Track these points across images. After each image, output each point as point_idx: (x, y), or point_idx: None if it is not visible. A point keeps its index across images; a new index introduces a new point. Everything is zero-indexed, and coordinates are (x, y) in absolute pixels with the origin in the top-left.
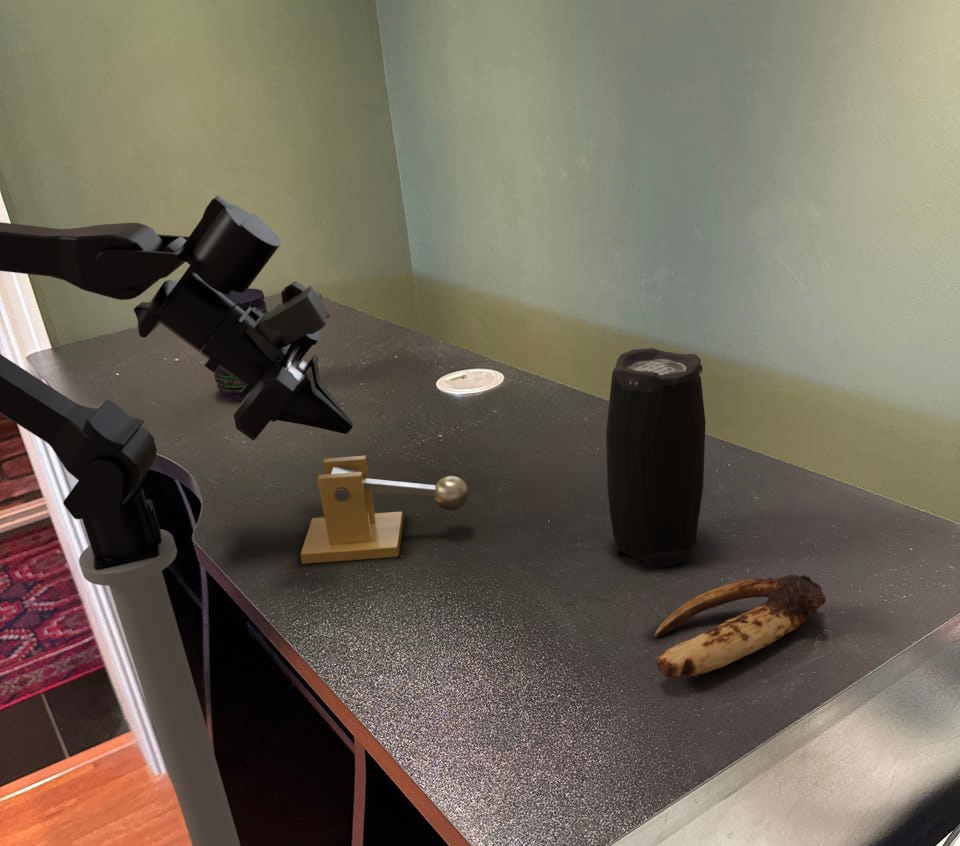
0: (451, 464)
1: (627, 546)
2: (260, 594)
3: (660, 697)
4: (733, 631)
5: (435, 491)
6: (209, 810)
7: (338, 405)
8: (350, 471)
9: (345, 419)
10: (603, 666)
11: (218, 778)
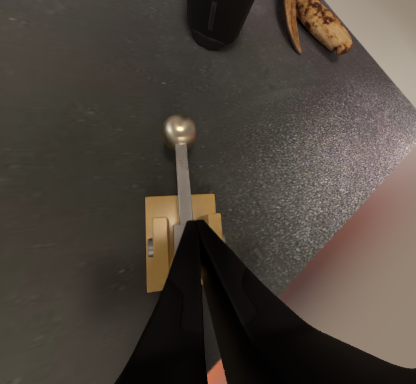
0: (8, 158)
1: (236, 34)
2: None
3: (339, 64)
4: (330, 11)
5: (187, 144)
6: None
7: (181, 253)
8: None
9: (209, 230)
10: (321, 81)
11: None
